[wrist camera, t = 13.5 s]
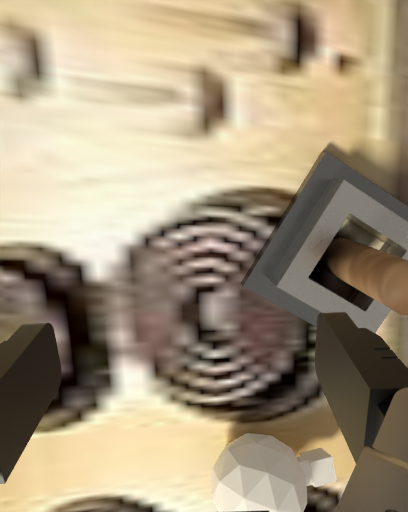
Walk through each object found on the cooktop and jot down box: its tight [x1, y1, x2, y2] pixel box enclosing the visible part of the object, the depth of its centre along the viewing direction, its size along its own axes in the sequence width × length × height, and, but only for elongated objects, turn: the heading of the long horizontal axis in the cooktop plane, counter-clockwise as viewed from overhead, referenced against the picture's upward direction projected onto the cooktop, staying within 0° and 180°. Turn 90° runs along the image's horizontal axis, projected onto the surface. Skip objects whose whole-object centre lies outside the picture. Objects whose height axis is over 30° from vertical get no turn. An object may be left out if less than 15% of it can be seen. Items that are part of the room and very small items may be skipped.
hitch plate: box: [241, 152, 408, 333], centre depth 35 cm, size 14×14×4 cm
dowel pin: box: [320, 238, 408, 315], centre depth 31 cm, size 4×4×11 cm
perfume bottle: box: [212, 433, 337, 512], centre depth 36 cm, size 9×9×12 cm
